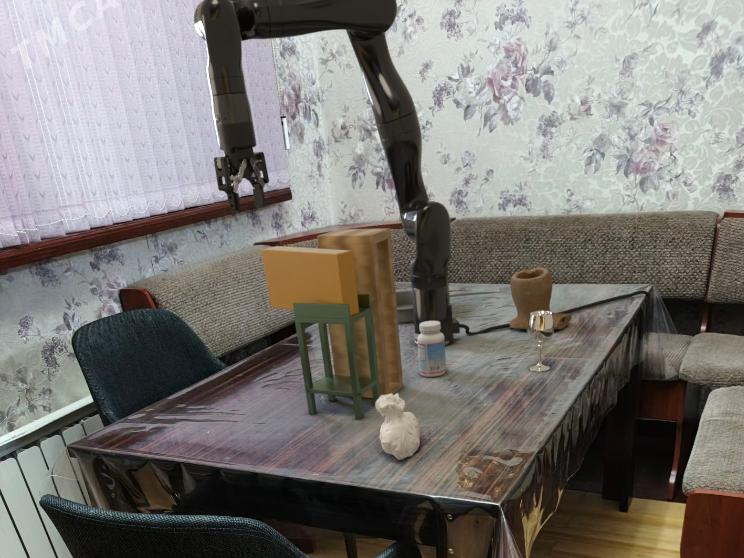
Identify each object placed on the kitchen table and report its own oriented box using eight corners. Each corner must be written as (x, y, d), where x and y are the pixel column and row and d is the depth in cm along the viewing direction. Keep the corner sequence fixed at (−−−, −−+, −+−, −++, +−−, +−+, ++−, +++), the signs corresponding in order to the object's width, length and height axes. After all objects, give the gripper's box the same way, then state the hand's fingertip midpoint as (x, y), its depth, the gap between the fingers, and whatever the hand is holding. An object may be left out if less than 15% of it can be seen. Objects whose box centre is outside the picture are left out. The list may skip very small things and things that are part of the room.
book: (270, 307, 142) (260, 249, 137) (285, 303, 145) (276, 245, 139) (344, 317, 130) (337, 254, 124) (359, 312, 133) (352, 250, 127)
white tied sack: (411, 448, 130) (372, 400, 128) (441, 426, 126) (401, 376, 124) (388, 476, 121) (345, 425, 118) (420, 454, 116) (376, 400, 114)
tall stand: (337, 395, 152) (316, 236, 136) (355, 383, 158) (337, 229, 142) (386, 399, 147) (371, 235, 131) (403, 386, 153) (390, 228, 137)
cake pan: (463, 306, 213) (463, 290, 210) (421, 327, 195) (420, 310, 193) (395, 302, 225) (393, 287, 223) (349, 321, 207) (348, 305, 205)
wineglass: (552, 372, 154) (554, 316, 148) (525, 372, 155) (526, 317, 149) (553, 364, 159) (554, 309, 153) (527, 364, 160) (527, 310, 154)
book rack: (309, 414, 144) (292, 303, 133) (331, 399, 150) (317, 292, 139) (360, 419, 139) (347, 305, 128) (381, 403, 146) (370, 293, 134)
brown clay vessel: (502, 334, 183) (502, 273, 175) (516, 322, 192) (516, 264, 185) (560, 336, 177) (563, 274, 169) (572, 324, 186) (574, 264, 178)
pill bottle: (449, 369, 161) (447, 319, 156) (442, 378, 156) (439, 327, 151) (424, 368, 163) (421, 319, 158) (416, 377, 158) (412, 326, 153)
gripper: (226, 121, 133) (242, 214, 142) (269, 118, 144) (282, 205, 152) (195, 124, 137) (213, 215, 145) (240, 121, 147) (254, 206, 156)
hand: (248, 210), depth 149 cm, fingers open, 8 cm apart
